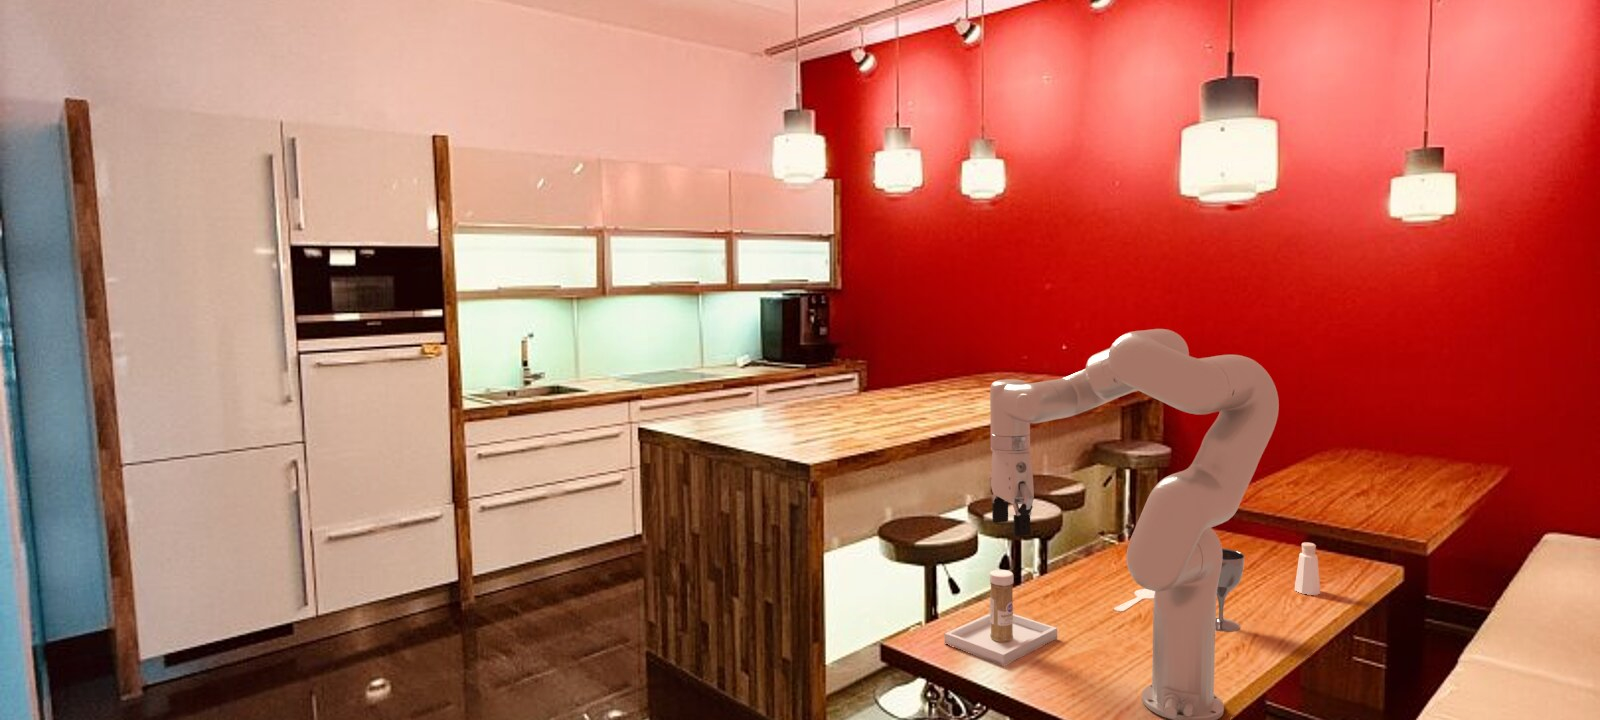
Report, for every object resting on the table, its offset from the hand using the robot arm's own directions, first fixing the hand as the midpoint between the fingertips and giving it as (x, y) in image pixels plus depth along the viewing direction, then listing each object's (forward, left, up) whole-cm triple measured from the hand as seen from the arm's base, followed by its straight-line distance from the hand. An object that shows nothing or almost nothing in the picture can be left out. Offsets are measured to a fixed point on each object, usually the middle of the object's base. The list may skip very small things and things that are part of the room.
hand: (1010, 528), depth 176 cm
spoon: (+32, -20, -23) cm, 45 cm away
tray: (-2, +2, -23) cm, 23 cm away
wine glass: (+24, -37, -23) cm, 50 cm away
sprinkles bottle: (-2, +2, -22) cm, 22 cm away
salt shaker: (+52, -54, -23) cm, 79 cm away
